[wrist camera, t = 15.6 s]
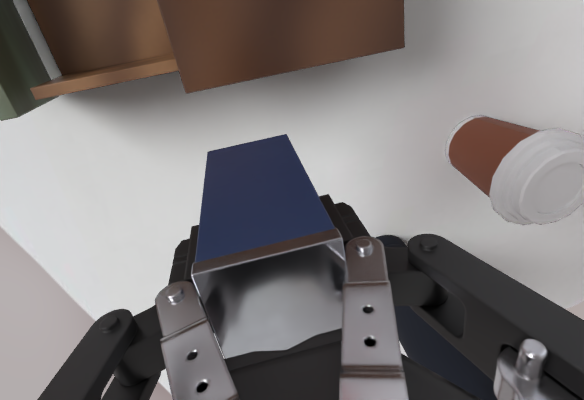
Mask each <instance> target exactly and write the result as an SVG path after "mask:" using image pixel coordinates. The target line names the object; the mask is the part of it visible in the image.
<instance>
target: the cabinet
mask: <svg viewBox="0 0 584 400" xmlns="http://www.w3.org/2000/svg"><path fill="white" fill-rule="evenodd" d="M157 3H158V6H159V9H160V12H161V15H162V19H163V22H164V25H165V28H166V31H167V35H168V38H169V41H170V44H171V48H172V51H173V54H174V57H175V60H176V64H177V67H178V70H179V73H180V76H181V80H182V83H183V86H184V89H185V92H186V93H192V92H197V91H201V90H206V89H211V88H216V87H220V86H225V85H230V84H235V83H239V82H244V81H249V80H254V79H258V78H263V77H268V76H273V75H277V74H282V73H287V72H292V71H296V70H301V69H306V68H310V67H315V66H320V65H325V64H329V63H334V62H339V61H344V60H348V59H353V58H358V57H363V56H367V55H372V54H377V53H382V52H386V51H391V50H396V49H401V48H404V47H405V42H404V0H157Z"/></svg>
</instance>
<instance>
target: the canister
mask: <svg viewBox="0 0 584 400" xmlns="http://www.w3.org/2000/svg"><path fill="white" fill-rule="evenodd" d="M191 277H192V280H193V282H194V284H195V287H196V289H197V292H198V294H199V297H200V299H201V302H202V304H203V307H204V309H205V311H206V314H207V316H208V319H209V321H210V324H211V326H212V329H213V331H214V334H215V336H216V338H217V341H218V343H219V346H220V348H221V351H222V353H223V356H224V358H225V359H227V358H230V357H234V356H238V355H242V354H245V353H249V352H253V351H274V350H287V349H290V348H291V347H293V346H295V345H297V344H299V343H301V342H303V341H305V340H307V339H309V338H311V337H313V336H315V335H317V334H321V333H325V332H329V331H333V330H336V329H340V328H342V287H343V282H345V252H344V244H343V238H342V236H341V234H340V232H339V230H338V229H337V228H335V227H334V225H333V223H332V221H331V219H330V217H329V215H328V213H327V211H326V210H325V208H324V206H323V204H322V202H321V200H320V198H319V196H318V194H317V192H316V190H315V188H314V186H313V184H312V183H311V181H310V179H309V177H308V175H307V173H306V171H305V169H304V167H303V165H302V163H301V161H300V159H299V157H298V156H297V154H296V152H295V150H294V148H293V146H292V144H291V142H290V140H289V138H288V136H287V134H284V135H280V136H276V137H271V138H267V139H262V140H258V141H253V142H249V143H244V144H240V145H236V146H231V147H227V148H222V149H218V150H213V151H209V152H208V154H207V162H206V171H205V179H204V188H203V197H202V205H201V214H200V223H199V231H198V240H197V249H196V257H195V263H193V264H192V272H191Z"/></svg>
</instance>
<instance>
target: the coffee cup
mask: <svg viewBox="0 0 584 400" xmlns="http://www.w3.org/2000/svg"><path fill="white" fill-rule="evenodd" d="M445 154H446V157H447V160H448V162H449V163H450V164H451V165H452V166H453V167H454V168H456V169H457V170H458V171H460V172H461V173H462V174H463V175H464V176H465V177H466V178H468V179H469V180H470V181H471V182H472V183H473V184H475V185H476V186H477V187H478V188H479V189H480V190H482V191H483V192H484V193H485V194H486V195H487V196H488V197H490V199H491V203H492V207H493V209H494V210H495V211H496V212H497V213H498V214H499V215H500V216H501V217H502V218H503V219H505V220H506V221H508V222H512V223H516V224H521V225H527V224H532V223H536V224H546V223H552V222H556V221H558V220H560V219H562V218H564V217H566V216H568V215H570V214H571V213H572V212H573V211H575V210H576V209H577V208H578V207H579V206H580V205H581V204H583V202H584V139H583V137H582V136H581V135H579V134H577V133H574V132H570V131H567V130H564V129H561V128H554V129H548V130H542V131H539V130H535V129H531V128H527V127H523V126H520V125H516V124H512V123H508V122H504V121H500V120H497V119H493V118H489V117H486V116H483V115H479V116H472V117H469V118H468V119H466V120H464V121H462V122H460V123H459V125H458V126H457V127H456V128H455V129H454V130H453V131H452V132H451V134H450V136H449V138H448V140H447V142H446V151H445Z"/></svg>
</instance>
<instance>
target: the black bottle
mask: <svg viewBox="0 0 584 400" xmlns="http://www.w3.org/2000/svg"><path fill="white" fill-rule="evenodd" d="M376 238H377V239H379V240H380V241H381V242H382V243H383V245H384V246H386V247H407V246H406V245H405V244H404V242H403V241H402V240H400V239H399V238H398V237H395V236H392V235H384V236H380V237H376ZM394 310H395V317H396V324H397V331H398V338H399V341H400V343H401V344H402V346H403V348H404V350H405V352H406V354H407V356H408V357H409V358H410V359H412V360H414V361H415V362H417V363H419V364H421V365H422V366H424V367H426V368H428V369H429V370H431V371H433V372H435V373H436V374H438V375H440V376H442V377H443V378H445V379H447V380H448V381H450V382H452V383H454V384H455V385H457V386H459V387H461V388H462V389H464V390H466V391H468V392H469V393H471V394H473V395H475V396H476V397H478V398H480V399H482V400H498V399H497V398H496V396H495V393H494V388H493V385H494V382H493V381H492V380H491V379H490V378H489V377H488V376H487V375H486V374H484V373H483V372H482V371H481V370H480V369H479V368H478V367H476V366H475V365H474V364H473V363H472V362H471V361H470V360H468V359H467V358H466V357H465V356H464V355H463V354H462V353H461V352H459V351H458V350H457V349H456V348H455V347H454V346H453V345H451V344H450V343H449V342H448V341H447V340H446V339H445V338H443V337H442V336H441V335H440V334H439V333H438V332H437V331H436V330H434V329H433V328H432V327H431V326H430V325H429V324H428V323H426V322H425V321H424V320H423V319H422V318H421V317H420V316H418V315H417V314H416V313H415V312H414V311H413V310H412V309H411V307H410V306H394Z"/></svg>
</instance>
